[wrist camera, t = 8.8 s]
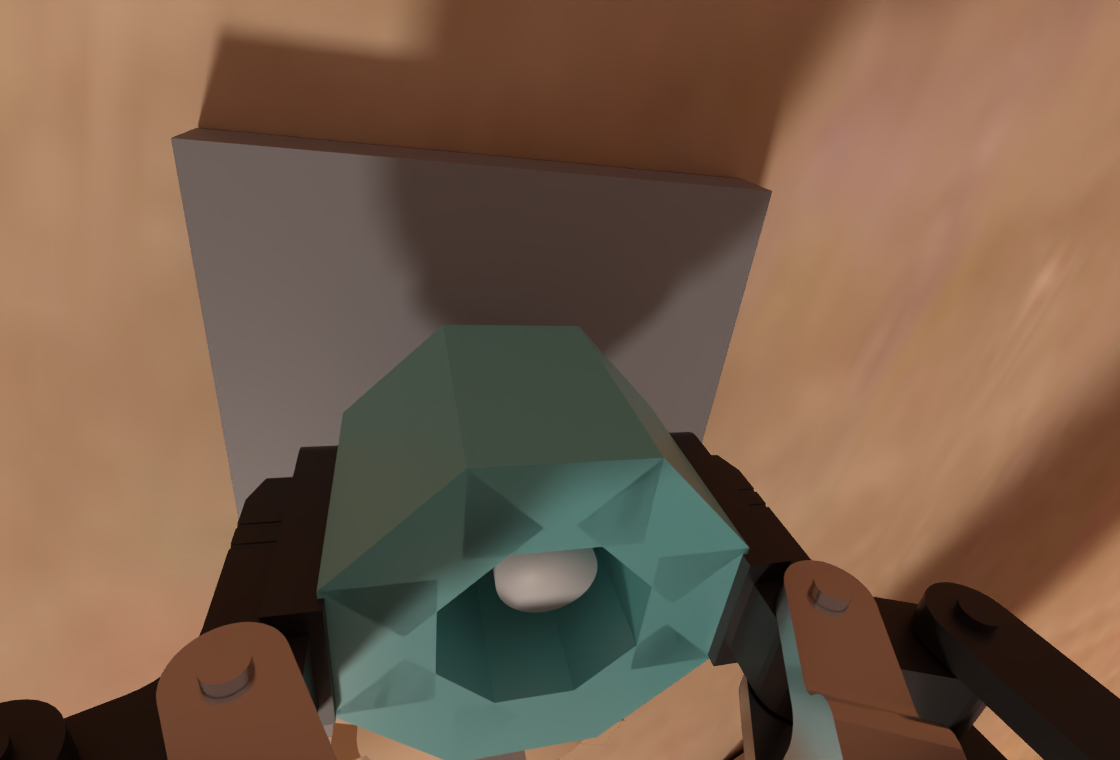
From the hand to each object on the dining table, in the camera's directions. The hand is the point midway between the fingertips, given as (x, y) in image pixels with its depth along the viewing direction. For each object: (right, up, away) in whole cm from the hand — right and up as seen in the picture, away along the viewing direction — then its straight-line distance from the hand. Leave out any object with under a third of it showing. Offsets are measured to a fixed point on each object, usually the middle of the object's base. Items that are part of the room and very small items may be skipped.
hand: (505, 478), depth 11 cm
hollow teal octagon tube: (0, 0, +1) cm, 1 cm away
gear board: (-1, -1, +6) cm, 6 cm away
